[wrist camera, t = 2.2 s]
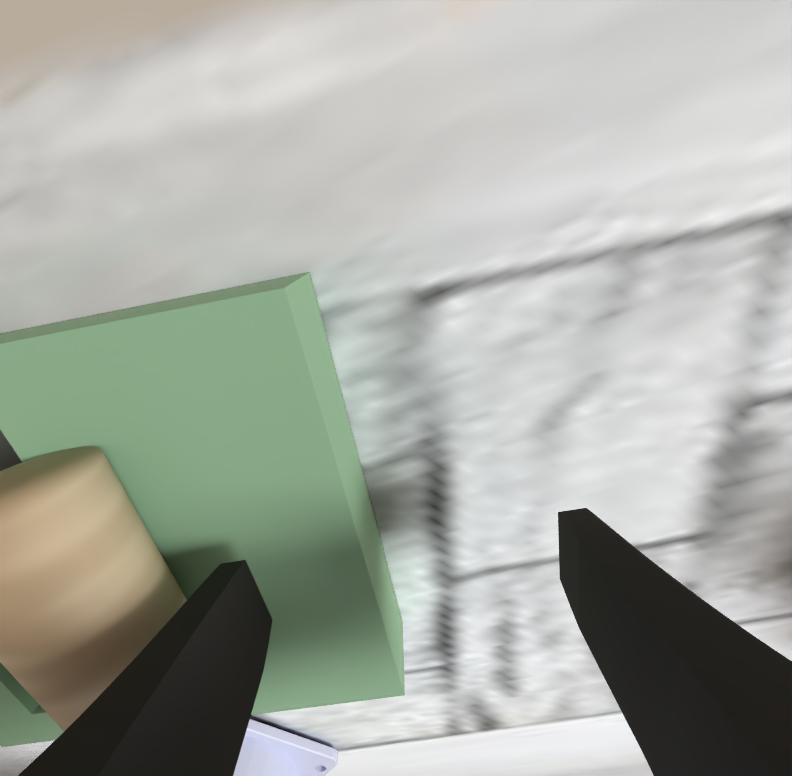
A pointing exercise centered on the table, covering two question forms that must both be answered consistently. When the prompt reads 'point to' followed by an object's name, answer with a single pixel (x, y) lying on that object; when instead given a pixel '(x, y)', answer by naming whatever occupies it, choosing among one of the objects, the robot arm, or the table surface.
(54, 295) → the table surface
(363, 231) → the table surface
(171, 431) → the green slotted board
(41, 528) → the roller
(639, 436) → the table surface
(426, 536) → the table surface
